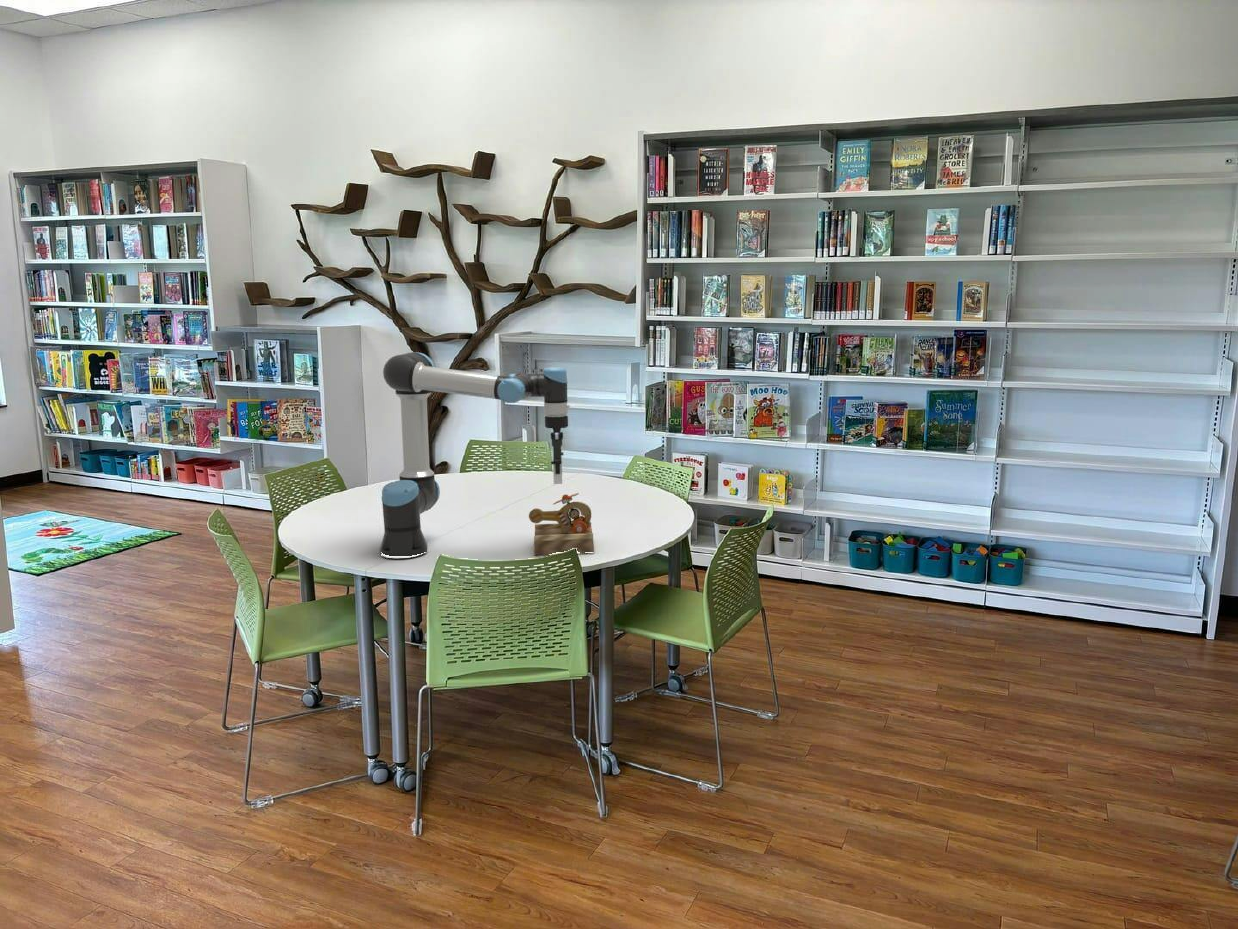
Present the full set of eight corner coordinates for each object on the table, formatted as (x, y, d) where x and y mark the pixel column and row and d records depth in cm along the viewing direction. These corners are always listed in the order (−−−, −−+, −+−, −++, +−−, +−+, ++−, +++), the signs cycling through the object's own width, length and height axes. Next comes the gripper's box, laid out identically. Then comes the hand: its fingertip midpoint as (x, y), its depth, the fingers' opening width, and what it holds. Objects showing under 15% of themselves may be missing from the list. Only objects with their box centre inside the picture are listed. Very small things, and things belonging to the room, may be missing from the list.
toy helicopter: (590, 536, 305) (588, 495, 303) (527, 536, 307) (525, 495, 305) (593, 530, 313) (592, 489, 311) (532, 529, 315) (530, 489, 313)
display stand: (534, 556, 302) (534, 536, 301) (535, 542, 318) (534, 524, 317) (593, 553, 304) (593, 534, 302) (591, 540, 319) (591, 521, 318)
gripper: (568, 420, 292) (569, 487, 296) (567, 409, 316) (569, 471, 320) (544, 420, 291) (546, 487, 295) (545, 410, 316) (547, 472, 320)
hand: (558, 479), depth 308 cm, fingers open, 13 cm apart
